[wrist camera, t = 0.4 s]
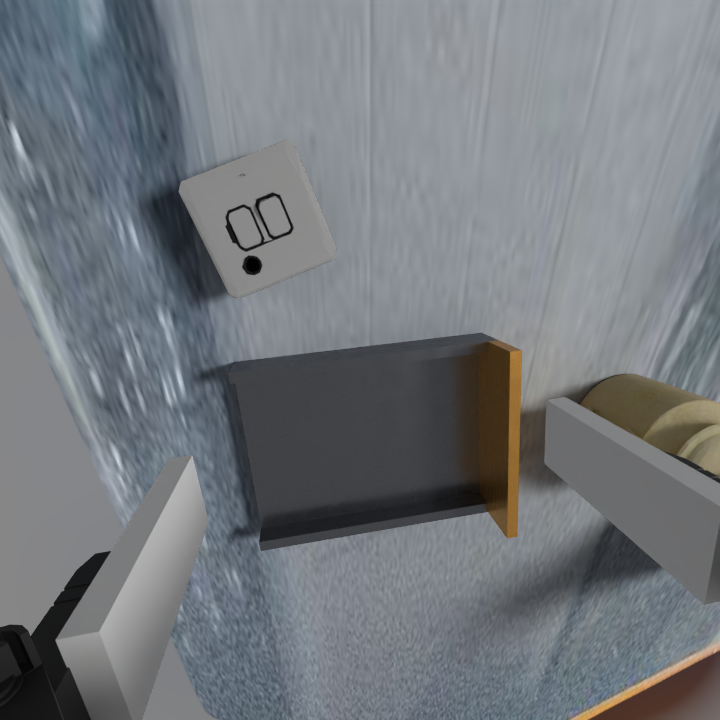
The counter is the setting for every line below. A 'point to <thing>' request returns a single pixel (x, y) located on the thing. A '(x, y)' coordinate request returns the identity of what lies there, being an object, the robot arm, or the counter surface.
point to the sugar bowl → (661, 417)
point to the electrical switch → (259, 218)
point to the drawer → (382, 436)
